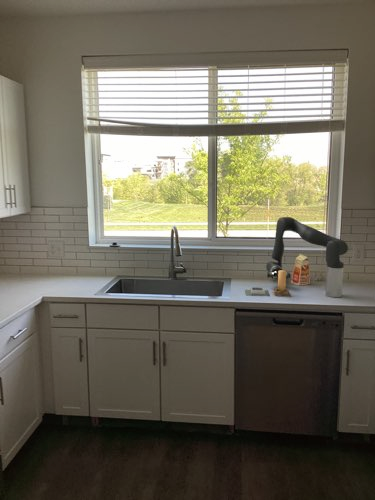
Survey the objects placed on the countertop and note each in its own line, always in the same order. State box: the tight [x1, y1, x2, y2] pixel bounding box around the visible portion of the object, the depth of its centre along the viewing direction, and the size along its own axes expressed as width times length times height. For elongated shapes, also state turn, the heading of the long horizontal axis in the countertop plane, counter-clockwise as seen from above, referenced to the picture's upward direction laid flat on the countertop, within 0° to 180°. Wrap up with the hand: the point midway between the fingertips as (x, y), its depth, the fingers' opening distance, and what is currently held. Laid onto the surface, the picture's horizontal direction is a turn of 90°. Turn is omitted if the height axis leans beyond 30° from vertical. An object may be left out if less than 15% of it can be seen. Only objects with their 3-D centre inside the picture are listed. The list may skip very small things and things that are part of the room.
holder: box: [271, 287, 292, 298], centre depth 246 cm, size 10×10×4 cm
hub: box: [244, 286, 271, 297], centre depth 249 cm, size 14×14×4 cm
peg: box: [277, 269, 287, 292], centre depth 245 cm, size 4×4×14 cm
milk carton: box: [290, 253, 311, 286], centre depth 275 cm, size 9×9×20 cm
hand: (279, 277), depth 254 cm, fingers open, 8 cm apart
